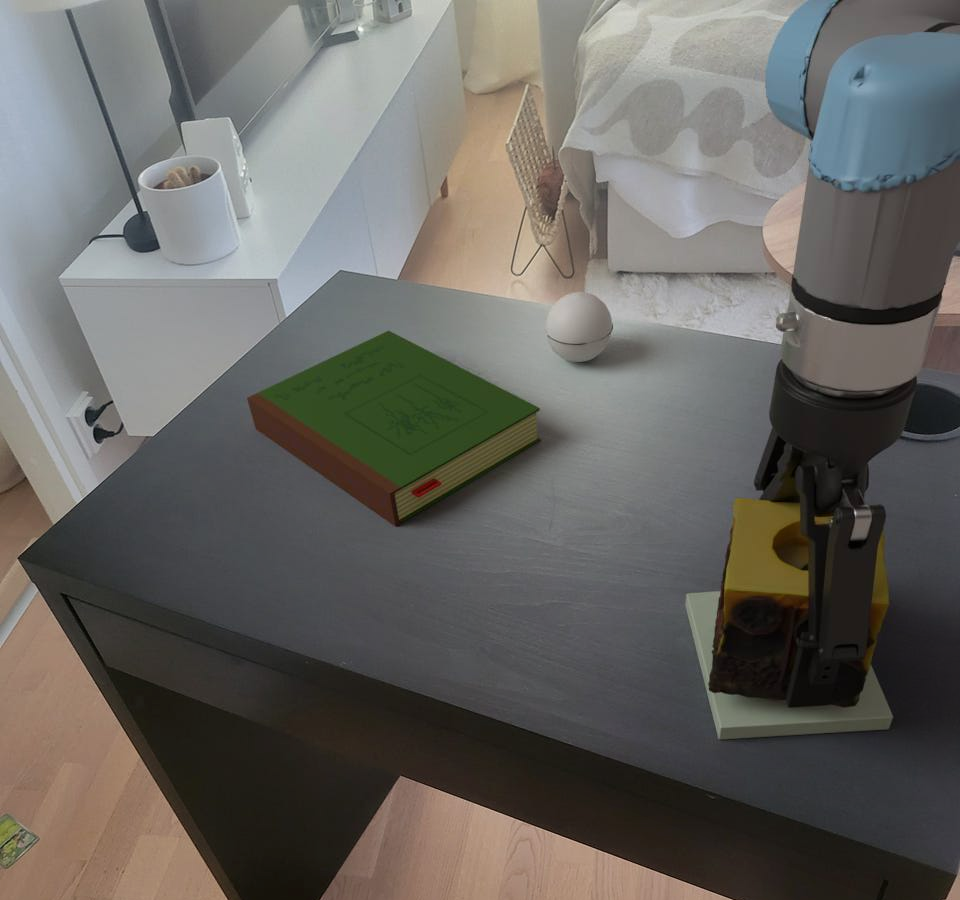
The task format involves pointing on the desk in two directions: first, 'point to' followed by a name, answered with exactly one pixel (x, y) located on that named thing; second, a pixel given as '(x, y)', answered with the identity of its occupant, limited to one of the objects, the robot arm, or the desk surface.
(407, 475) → the hardcover book
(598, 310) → the white ball
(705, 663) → the scale
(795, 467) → the robot arm
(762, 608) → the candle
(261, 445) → the desk surface
